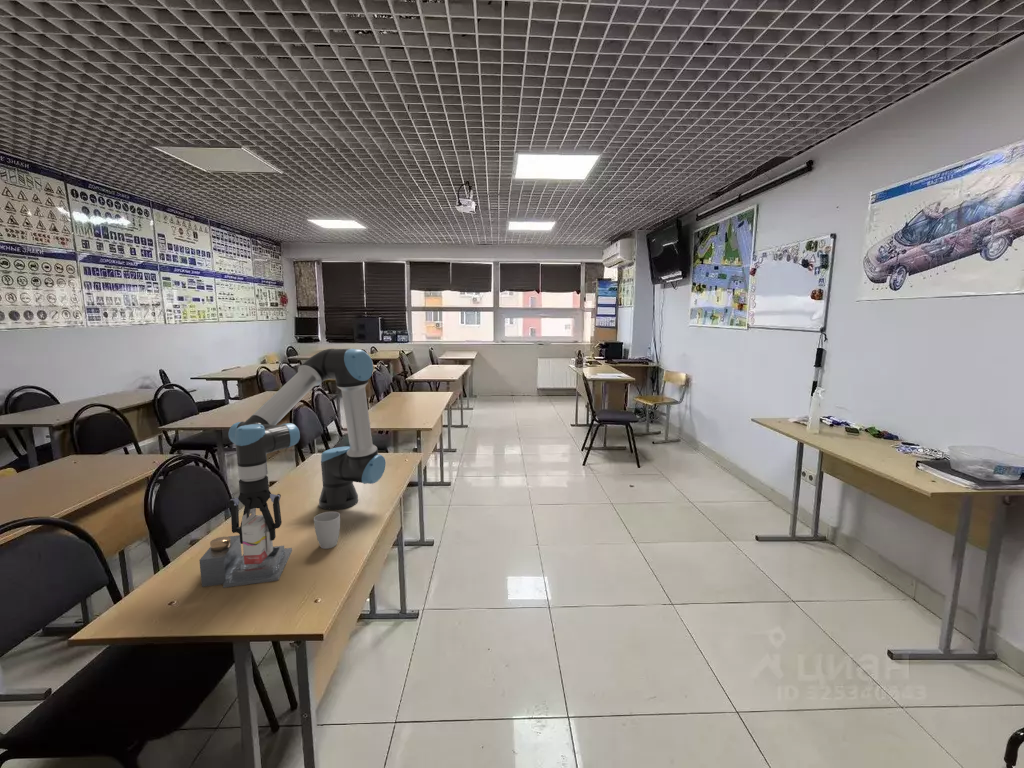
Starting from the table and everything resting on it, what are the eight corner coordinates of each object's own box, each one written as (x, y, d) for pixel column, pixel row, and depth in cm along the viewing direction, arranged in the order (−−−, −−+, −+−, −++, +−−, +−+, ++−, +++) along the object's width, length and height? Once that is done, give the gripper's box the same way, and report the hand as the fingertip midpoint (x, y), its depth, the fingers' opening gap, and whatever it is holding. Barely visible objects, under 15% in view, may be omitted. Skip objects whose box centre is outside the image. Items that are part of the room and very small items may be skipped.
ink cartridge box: (261, 564, 131) (257, 516, 129) (243, 565, 130) (239, 516, 129) (274, 549, 139) (271, 504, 138) (257, 550, 139) (254, 505, 137)
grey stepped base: (292, 550, 146) (290, 521, 144) (278, 580, 128) (275, 547, 127) (222, 558, 141) (220, 528, 139) (198, 590, 123) (195, 556, 122)
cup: (346, 541, 152) (345, 513, 151) (329, 552, 144) (328, 523, 143) (327, 537, 155) (325, 510, 153) (309, 548, 147) (308, 519, 146)
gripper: (290, 470, 138) (295, 542, 141) (222, 475, 133) (229, 549, 136) (284, 478, 131) (289, 553, 133) (213, 484, 126) (219, 561, 129)
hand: (259, 551), depth 135 cm, fingers closed on ink cartridge box, 5 cm apart
